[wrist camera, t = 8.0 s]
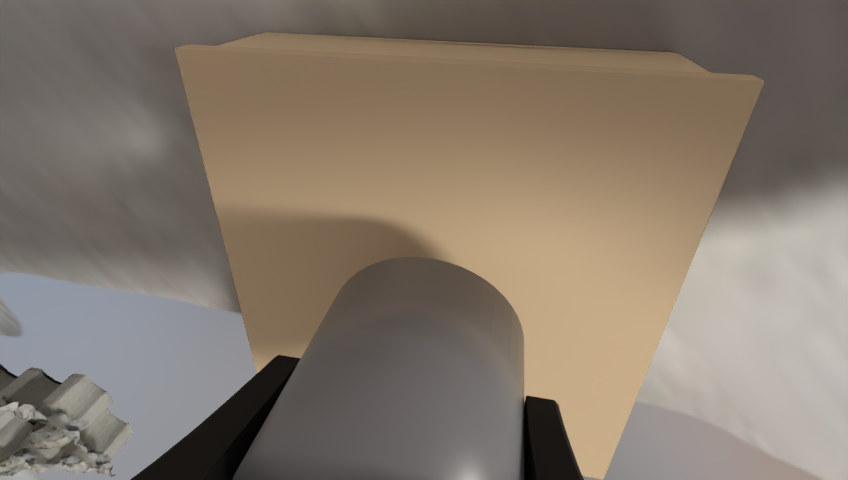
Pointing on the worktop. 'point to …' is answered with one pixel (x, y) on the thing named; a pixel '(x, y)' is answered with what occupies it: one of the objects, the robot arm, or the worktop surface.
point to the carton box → (471, 51)
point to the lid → (471, 197)
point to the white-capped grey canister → (402, 384)
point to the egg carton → (56, 424)
